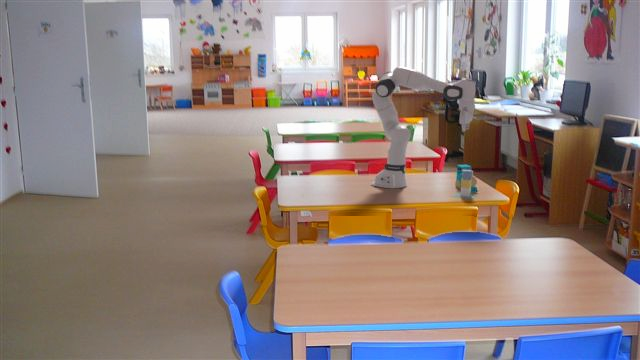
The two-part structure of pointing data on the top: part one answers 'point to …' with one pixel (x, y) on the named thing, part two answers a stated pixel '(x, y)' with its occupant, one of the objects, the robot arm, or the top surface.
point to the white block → (465, 192)
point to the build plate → (465, 196)
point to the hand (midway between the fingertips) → (465, 130)
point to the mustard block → (466, 183)
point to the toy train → (459, 177)
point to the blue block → (466, 174)
